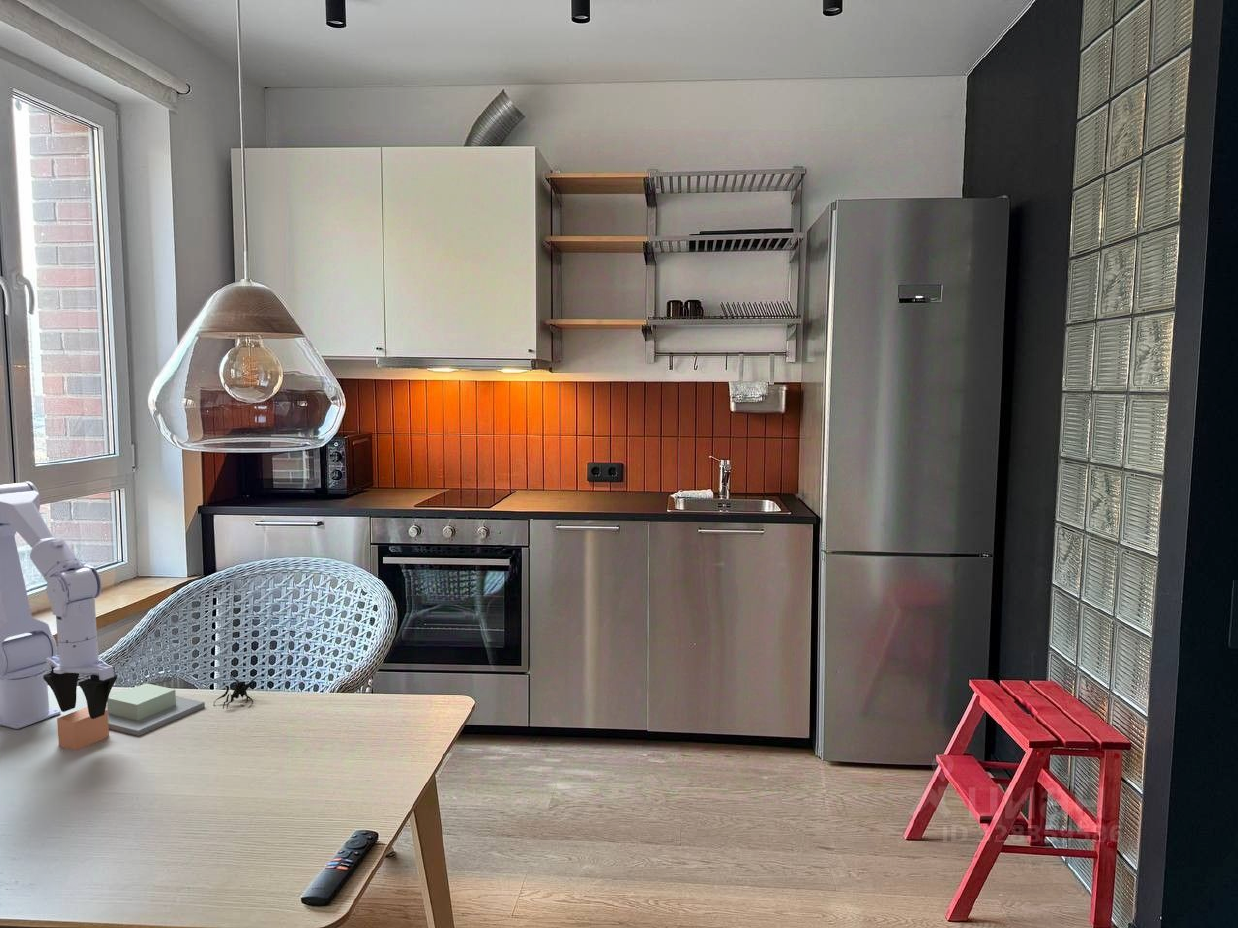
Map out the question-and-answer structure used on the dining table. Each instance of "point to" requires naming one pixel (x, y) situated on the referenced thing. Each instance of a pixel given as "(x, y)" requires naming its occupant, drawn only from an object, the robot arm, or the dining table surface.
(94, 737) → the top brick
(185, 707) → the tower base
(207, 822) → the dining table surface
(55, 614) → the robot arm
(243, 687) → the creature
